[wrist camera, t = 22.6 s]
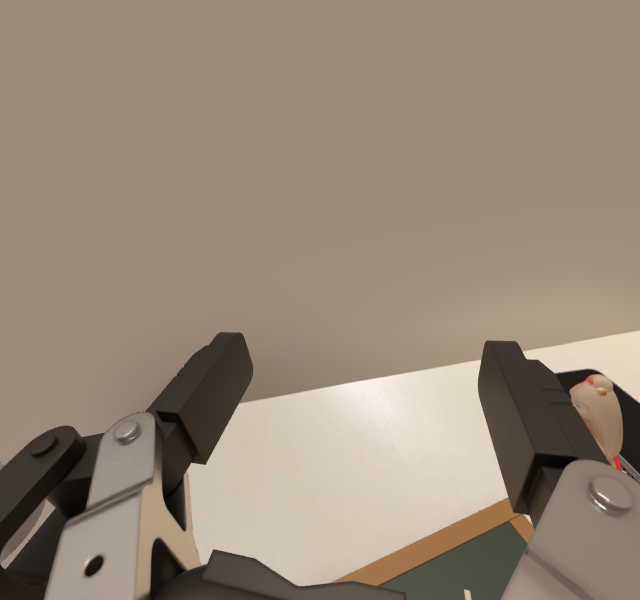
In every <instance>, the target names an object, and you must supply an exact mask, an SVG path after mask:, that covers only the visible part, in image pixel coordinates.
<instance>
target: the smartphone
mask: <svg viewBox="0 0 640 600" xmlns="http://www.w3.org/2000/svg"><path fill="white" fill-rule="evenodd" d="M595 374H599V375H604V374H602V373H601V372H599V371H597V370H594V369H580V370H573V371H566V372H559V373H555V375H556V376H557V378H558V380H559V381H560V383H561V385H562V386H563V388H564V392H565V393H567V394H568V396H569V398H570V399H571V394H570V390H571V388H573V387H574V386H575V385H577V384H579V383H582V382H584V381H586V379H587V378H588V377H589V376H590V375H595ZM604 376H605V375H604ZM607 378H608V377H607ZM611 382H612V384H613V391H614V393H615V394H616V397H617V399H618V402H619V405H620V409H621V414H622V423H623V441H622V447H621V450H620V452H619V454H618V455H617V456H618V458H619V461H620V464H621V465H622V466H623V467H624V468H625V469H626V470H627V471H628V472H629V473H630V474H631V475H632V476H633V477H634V478H635V479H636V480H637V481H638V482H639V483H640V403H639V402H638V401H637V400H636V399H634V398H633V397H632V396H631V395H629V394H628V393H627V392H625V391H624V390H623V389H622V388H620V387H619V386H618V385H617V384H615V383H614V382H613V381H611Z"/></svg>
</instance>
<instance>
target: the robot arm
mask: <svg viewBox="0 0 640 600" xmlns="http://www.w3.org/2000/svg"><path fill="white" fill-rule="evenodd" d="M252 375H253V365H252V361H251V358H250V355H249V351H248V348H247V345H246V342H245V339H244V336H243V335H242V334H241V333H233V332H232V333H231V332H220V333H218V334H217V335H216V337H215V338H214V339H213V340H212V342H211V343H210V344H209V345H208V346H205V347H203V348H202V349H201V350H199V351H198V352H196V353H195V354H194V355H193V356H192V357H191V358H190V359H189V360H188V362H187V363H186V364H185V366H184V368H182V369H181V370H180V371H179V372H178V373H177V376H176V377H174V378H173V379H172V381H171V382H170V383H169V384H168V385H167V387H166V388H165V389H164V390H163V391H162V393H161V394H160V395H159V396H158V397H157V398H156V400H155V401H154V402H153V403H152V404H151V406H150V407H149V408H148V409H147V410H146V411H145V412H138V413H134V414H131V415H128V416H126V417H124V418H123V419H121V420H119V421H118V422H116V423H115V424H114V425H112V426H111V427H110V428H109V429H108V430H107V432H106V433H102V434H96V435H92V436H86V437H81V436H80V435H79V433H78V432H77V431H76V430H75V429H74V428H73V427H71V426H60V427H57V428H54V429H51V430H49V431H47V432H45V433H43V434H41V435H40V436H38V437H37V438H35V439H34V440H32V441H31V442H30V443H29V444H28V445H26V446H25V447H24V448H23V449H22V450H21V451H20V452H19V453H18V454H17V455H16V456H15V457H14V458H13V459H12V460H10V461H9V462H8V463H7V464H6V465H5V466H4V465H2V464H1V463H0V556H1V553H2V550H3V548H4V547H5V545H6V543H7V542H8V541H9V540H10V539H11V537H12V536H13V535H14V534H15V533H16V532H17V530H18V529H19V528H20V527H21V526H22V525H23V523H24V522H25V521H26V520H27V519H28V518H29V516H30V515H31V514H32V513H33V512H34V511H35V509H36V508H37V507H38V506H39V505H40V504H41V503H42V501H43V500H44V499H45V498H46V499H47V500H48V501H49V502H50V503H51V504H52V505H54V506H55V507H56V508H55V510H54V511H53V512H52V513H51V514H50V516H49V517H48V518H47V519H46V521H45V522H44V523H43V524H42V526H41V527H40V528H39V529H38V531H37V532H36V533H35V534H34V535H33V537H32V538H31V539H30V540H29V542H28V543H27V544H26V545H25V546H24V548H23V549H22V550H21V551H20V553H19V554H18V555H17V556H16V558H15V559H14V560H13V561H12V562H11V564H10V565H9V566H8V567H7V568H6V569H4V568H2V566H1V565H0V600H406V593H404V592H400V591H396V590H391V589H387V588H382V587H378V586H374V585H369V584H365V583H360V582H356V581H346V582H337V583H329V584H320V585H312V586H297V585H295V584H293V583H291V582H290V581H288V580H287V579H285V578H284V577H282V576H281V575H279V574H278V573H276V572H275V571H273V570H272V569H270V568H269V567H267V566H265V565H264V564H262V563H261V562H259V561H258V560H256V559H254V558H250V557H245V556H241V555H236V554H232V553H228V552H223V551H219V550H214V549H213V552H212V554H211V556H210V559H209V561H208V563H207V564H206V565H202V566H201V562H200V558H199V554H198V551H197V548H196V545H195V542H194V537H193V527H192V514H191V501H190V488H189V477H188V474H187V472H186V471H187V469H188V467H189V466H190V464H191V463H197V464H204V465H206V463H207V461H208V459H209V457H210V455H211V454H212V452H213V450H214V448H215V446H216V444H217V443H218V441H219V439H220V437H221V435H222V433H223V432H224V430H225V428H226V426H227V424H228V422H229V420H230V419H231V417H232V415H233V413H234V411H235V409H236V408H237V406H238V404H239V402H240V400H241V398H242V396H243V395H244V393H245V391H246V389H247V387H248V386H249V384H250V382H251V379H252ZM478 392H479V398H480V402H481V405H482V408H483V412H484V415H485V419H486V422H487V425H488V429H489V432H490V436H491V439H492V442H493V446H494V449H495V453H496V456H497V460H498V463H499V466H500V470H501V473H502V477H503V480H504V483H505V487H506V490H507V494H508V497H509V500H510V504H511V507H512V511H513V513H518V514H525V515H530V518H531V521H532V524H533V527H534V532H533V534H532V537H531V539H530V541H529V543H528V545H527V547H526V549H525V551H524V553H523V555H522V557H521V559H520V561H519V563H518V565H517V567H516V569H515V571H514V573H513V575H512V577H511V579H510V581H509V583H508V585H507V587H506V589H505V591H504V594H503V596H502V598H501V600H640V484H639V483H638V482H637V481H636V480H634V479H633V478H631V477H630V476H629V475H627V474H626V473H624V472H622V471H620V470H619V469H616V468H614V467H612V466H611V464H610V463H609V461H608V460H607V458H606V457H605V455H604V453H603V452H602V450H601V448H600V447H599V445H598V444H597V442H596V440H595V439H594V437H593V435H592V434H591V432H590V430H589V429H588V427H587V426H586V424H585V422H584V421H583V419H582V417H581V416H580V414H579V412H578V411H577V409H576V408H575V406H573V403H572V401H571V399H570V398H569V396H568V394H567V393H565V392H564V388H563V386H562V385H561V383H560V381H559V380H558V378H557V376H556V375H555V373H553V372H552V371H551V370H550V369H549V368H547V367H546V366H545V365H544V364H542V363H541V362H540V361H539V360H527V359H526V358H525V356H524V354H523V352H522V350H521V349H520V346H519V345H518V343H517V342H515V341H486V342H485V345H484V350H483V355H482V360H481V366H480V371H479V377H478Z"/></svg>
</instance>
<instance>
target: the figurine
mask: <svg viewBox="0 0 640 600" xmlns="http://www.w3.org/2000/svg"><path fill="white" fill-rule="evenodd" d="M570 394H571V401H572V403H573V406H575V408H576V409H577V411H578V412H579V414H580V416H581V417H582V419H583V421H584V422H585V424H586V426H587V427H588V429H589V430H590V432H591V434H592V435H593V437H594V439H595V440H596V442H597V444H598V445H599V447H600V448H601V450H602V452H603V453H604V455H605V457H606V458H607V460H608V461H609V463H610V464H611V466H612V467H614V468H616V469H619V470H620V471H622V468H621V464H620V461H619V458H618V456H617V455H618V454H619V452H620V450H621V447H622V441H623V423H622V414H621V409H620V405H619V402H618V399H617V397H616V394H615V393H614V391H613V384H612V382H611V380H610V379H609V378H607V377H606V376H604V375H599V374H595V375H590V376H589V377H588V378H587V379H586V381H584V382H582V383H579V384H577V385H575V386H574V387H573V388H571V390H570Z"/></svg>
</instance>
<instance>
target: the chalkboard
mask: <svg viewBox="0 0 640 600" xmlns="http://www.w3.org/2000/svg"><path fill="white" fill-rule="evenodd" d="M533 532H534V527H533V526H532V525H531V523H530V522H529V521H528V520H527V519H526V517H525V516H524V515H523V514H518V513H513V511H512V507H511V504H510V500H509V498H506V499H504V500H502V501H500V502H498V503H496V504H494V505H492V506H490V507H487V508H485V509H483V510H481V511H479V512H477V513H475V514H473V515H471V516H469V517H467V518H465V519H463V520H460V521H458V522H456V523H454V524H452V525H450V526H448V527H446V528H444V529H442V530H440V531H438V532H436V533H433V534H431V535H429V536H427V537H425V538H423V539H421V540H419V541H417V542H415V543H413V544H411V545H408V546H406V547H404V548H402V549H400V550H398V551H396V552H394V553H392V554H390V555H388V556H386V557H384V558H381V559H379V560H377V561H375V562H373V563H371V564H369V565H367V566H365V567H363V568H361V569H359V570H357V571H354V572H352V573H350V574H348V575H346V576H344V577H342V578H340V579H338V580H336V581H334V582H332V583H337V582H346V581H356V582H360V583H365V584H369V585H374V586H378V587H382V588H387V589H391V590H396V591H400V592H404V593H406V600H501V598H502V596H503V594H504V591H505V589H506V587H507V585H508V583H509V581H510V579H511V577H512V575H513V573H514V571H515V569H516V567H517V565H518V563H519V561H520V559H521V557H522V555H523V553H524V551H525V549H526V547H527V545H528V543H529V541H530V539H531V537H532V534H533Z"/></svg>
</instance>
